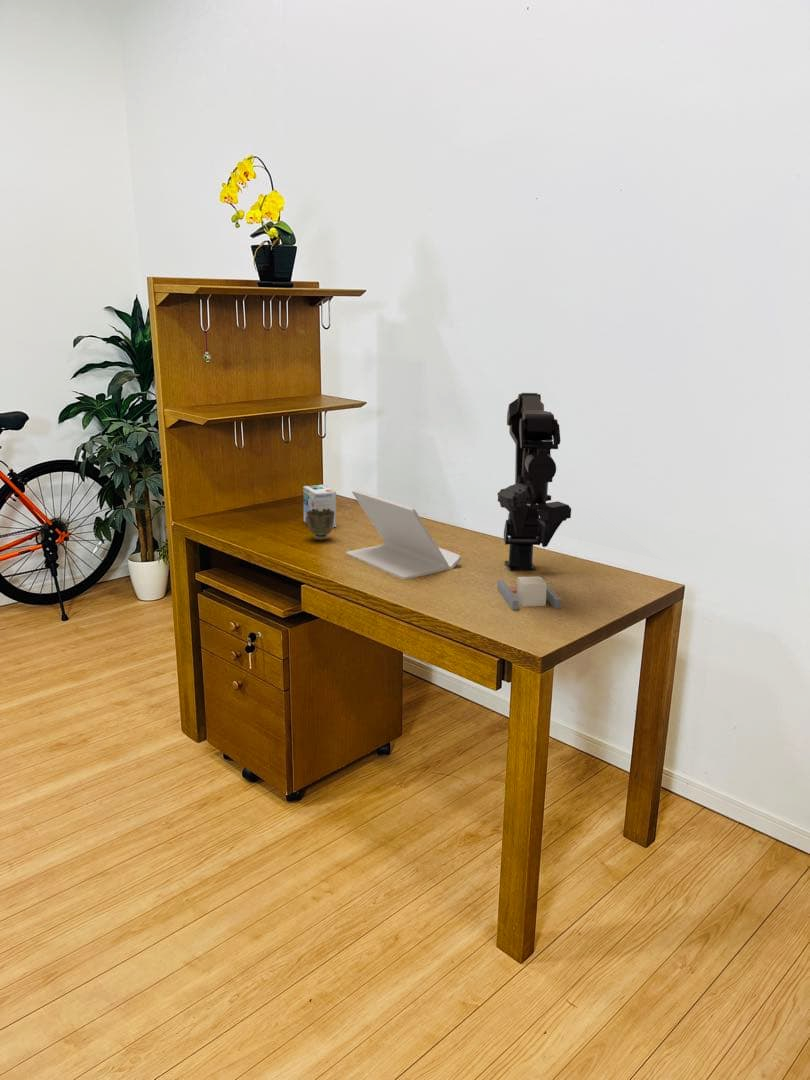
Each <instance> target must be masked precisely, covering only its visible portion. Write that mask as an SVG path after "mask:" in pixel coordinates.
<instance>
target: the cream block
mask: <svg viewBox="0 0 810 1080" xmlns="http://www.w3.org/2000/svg"><path fill="white" fill-rule="evenodd" d="M516 583H517V585H516V586H517V592H516V598H517V599H518V603H519V604H520V605H521V607H545V606H546V605H547V604H546V601H547V598H546V589H547V584H548V583H547V582H546V581H545V580H544V578H542V577H541V576H518V577H517V582H516ZM546 583H547V584H546Z"/></svg>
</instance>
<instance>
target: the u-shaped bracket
mask: <svg viewBox="0 0 810 1080" xmlns="http://www.w3.org/2000/svg"><path fill="white" fill-rule="evenodd" d="M546 584H547V589H546V601H548V602H549V604H551V606H552V607H553V609H555V610H556V609H561V604H562V599H561V598H560V596H559V595H558V594H557V593H556V592H555V591H554V590H553V588H552V587H551V586H550V585H549V584H548V582H546ZM497 590H498V591H499V593H500V594H501V596H502V597H503V599H505V601H506V603H507V604H508V606H509V607H510V608H511V610H512V611H517V610H519V601H518V599H517V596H516V595H515V593H517V585H513V586H508V585H507V583H506V582H505V581H504V579H497Z"/></svg>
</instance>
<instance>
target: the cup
mask: <svg viewBox="0 0 810 1080" xmlns="http://www.w3.org/2000/svg"><path fill="white" fill-rule="evenodd" d="M334 513H335V512H333V510H332V511H331V510H330V509H327V510H326V509H323V511H322V512H321V511H320V512H319V511H318V509H316V510H315V509H312V510H311V511H310V510H309V512H308V511H307V519H308V524H307V525H308V528H309V531H310V532H311V533H312V534H313V535H314V536H313V538H314V540H315V541H317V540H319V541H318V542H324V541H323V540H325V541H327V540H328V538H329V536H328V534H330V533H331V532H332V531H333V529H334V528H333V522H334Z"/></svg>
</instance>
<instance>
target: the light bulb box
mask: <svg viewBox="0 0 810 1080" xmlns="http://www.w3.org/2000/svg"><path fill="white" fill-rule="evenodd" d="M302 488H303V491H302V492H303V493H302V494H303V498H302V499H303V522H304V523H305V524H306V523H307V525H308V519H307V511H308V512H309V510H310V511H311V510H312V509H315V510H316V509H318V511H319V512H320V511H321V512H322V511H323V509H326V510H327V509H330V510H331V511H332V510H333V512H335V513H334V522H333V527H336V528H337V490H336V491H335V490H334V489H332V488H331V487H328V486H327V485H326V484H317V485H304V486H302Z"/></svg>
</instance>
